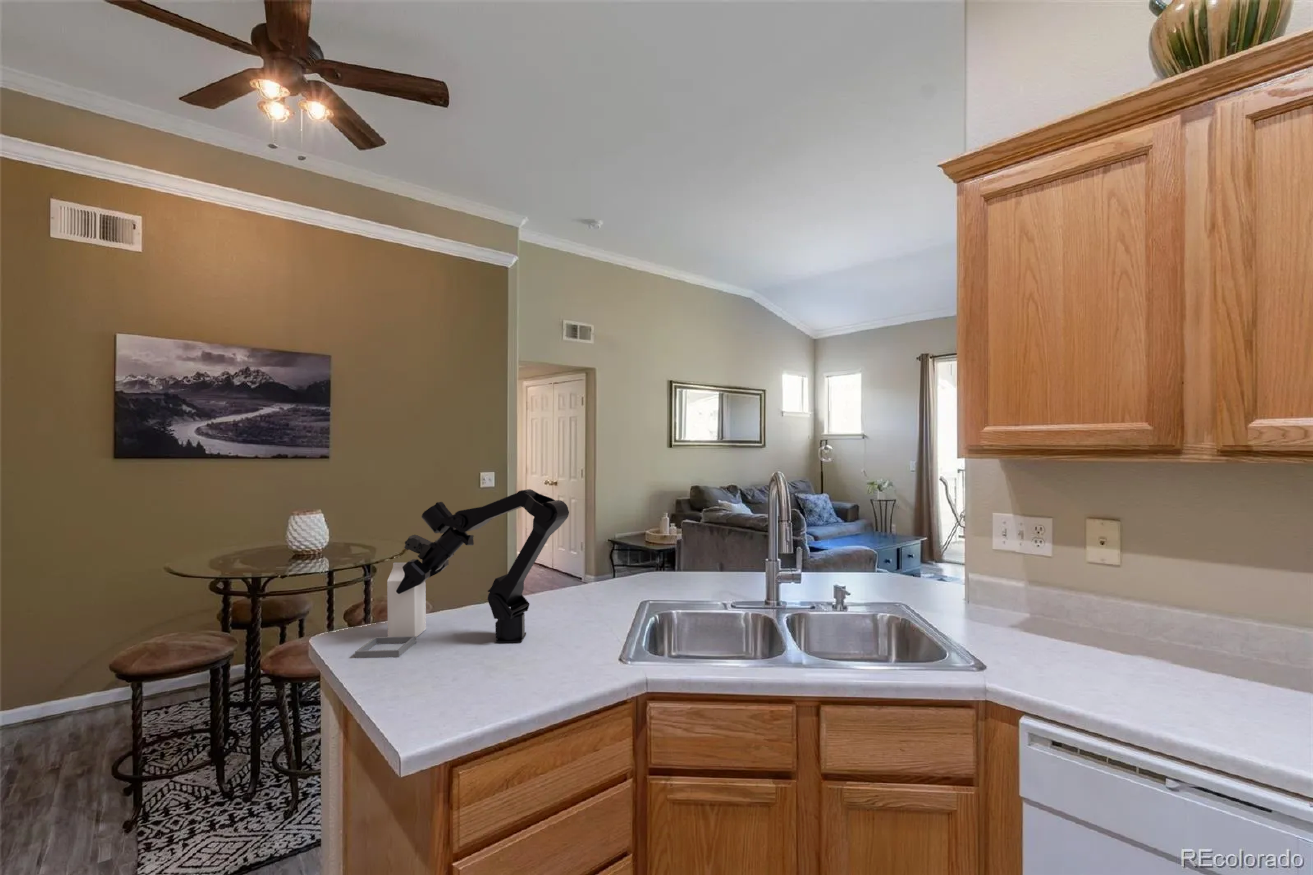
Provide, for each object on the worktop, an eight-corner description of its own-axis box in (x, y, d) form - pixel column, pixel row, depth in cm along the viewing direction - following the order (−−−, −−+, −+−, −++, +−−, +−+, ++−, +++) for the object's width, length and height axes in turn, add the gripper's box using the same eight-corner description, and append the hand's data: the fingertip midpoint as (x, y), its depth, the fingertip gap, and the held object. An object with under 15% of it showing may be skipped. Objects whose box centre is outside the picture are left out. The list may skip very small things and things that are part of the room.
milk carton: (414, 639, 149) (414, 565, 149) (387, 639, 149) (387, 565, 149) (426, 630, 156) (425, 559, 157) (399, 630, 156) (399, 560, 157)
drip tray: (415, 642, 147) (415, 636, 147) (398, 657, 136) (398, 650, 136) (375, 643, 146) (375, 637, 146) (355, 658, 136) (355, 651, 136)
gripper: (436, 520, 163) (397, 560, 163) (410, 530, 144) (366, 575, 144) (465, 547, 163) (426, 587, 163) (442, 561, 145) (398, 606, 144)
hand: (404, 588), depth 153 cm, fingers open, 9 cm apart
